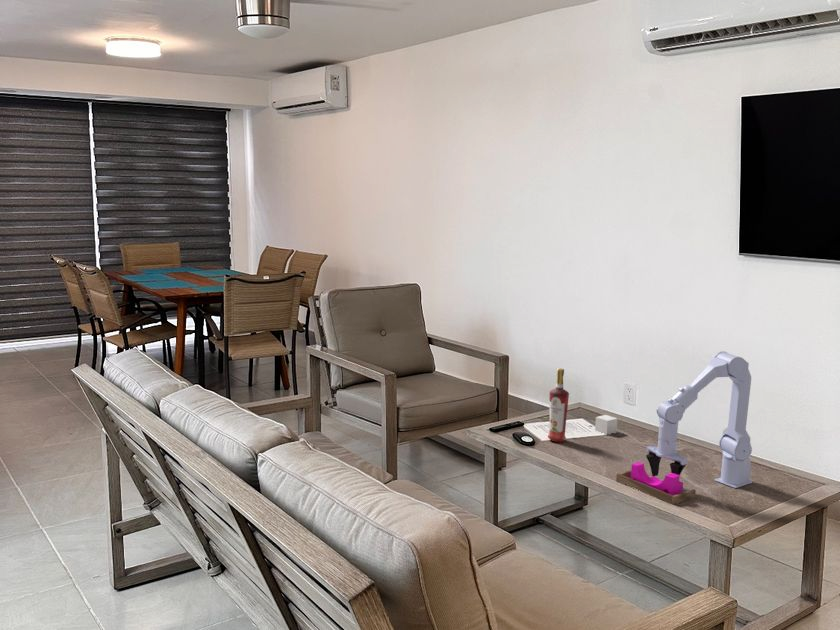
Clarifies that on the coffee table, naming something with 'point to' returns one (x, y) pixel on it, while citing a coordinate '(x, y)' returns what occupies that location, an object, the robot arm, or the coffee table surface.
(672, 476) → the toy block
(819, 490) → the coffee table surface
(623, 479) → the tray
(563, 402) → the liquor
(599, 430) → the white cube
